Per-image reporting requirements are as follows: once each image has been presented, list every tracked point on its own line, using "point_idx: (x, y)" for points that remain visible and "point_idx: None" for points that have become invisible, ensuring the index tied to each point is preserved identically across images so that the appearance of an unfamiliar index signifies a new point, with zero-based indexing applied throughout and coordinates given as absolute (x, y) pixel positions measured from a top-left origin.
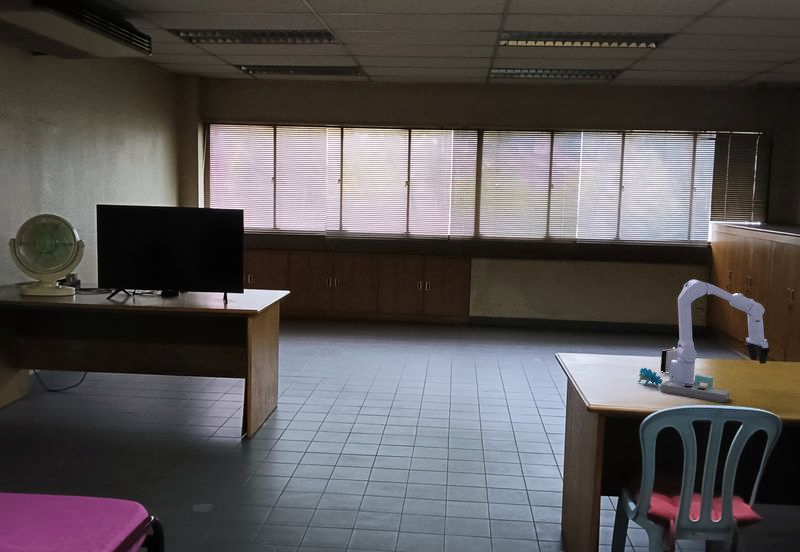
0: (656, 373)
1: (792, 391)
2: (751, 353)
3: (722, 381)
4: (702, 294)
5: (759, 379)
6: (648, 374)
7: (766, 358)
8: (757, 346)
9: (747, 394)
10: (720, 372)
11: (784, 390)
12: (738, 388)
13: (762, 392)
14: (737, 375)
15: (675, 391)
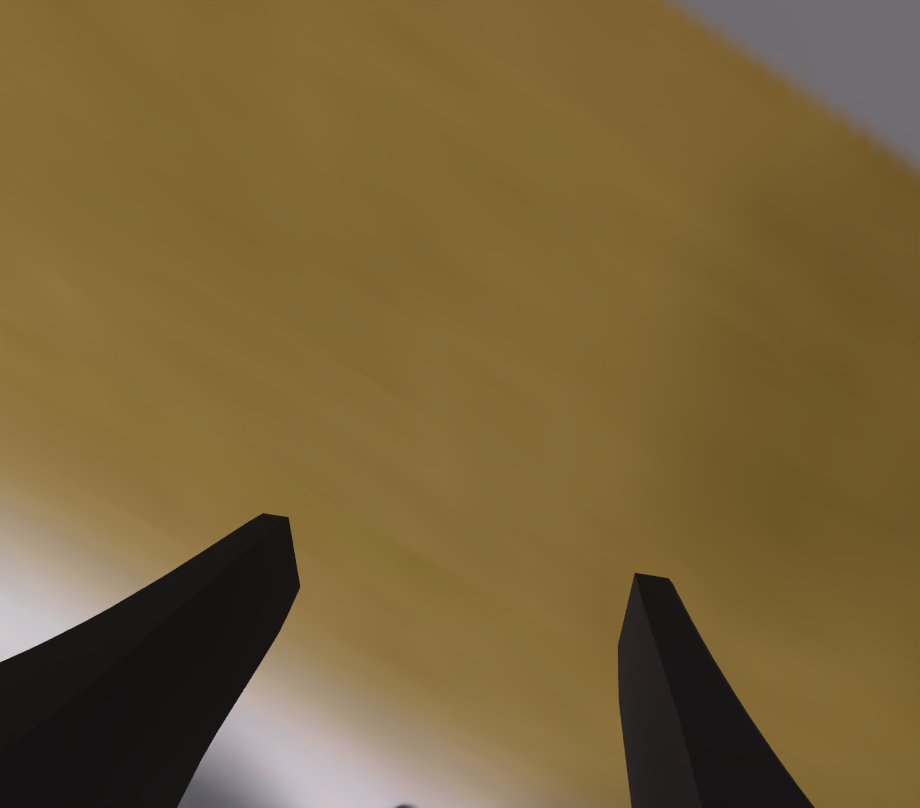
0: None
1: (784, 93)
2: (214, 700)
3: (361, 621)
4: None
5: (201, 195)
6: None
7: (718, 670)
8: (7, 781)
9: (844, 697)
10: (18, 446)
11: (721, 185)
12: (612, 640)
13: (787, 515)
14: (86, 348)
15: None
